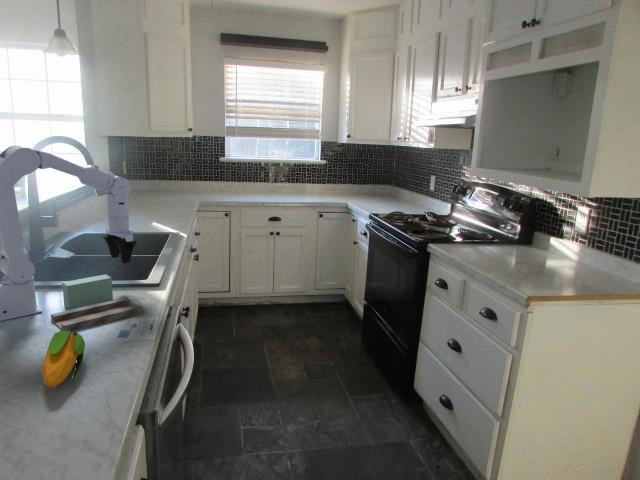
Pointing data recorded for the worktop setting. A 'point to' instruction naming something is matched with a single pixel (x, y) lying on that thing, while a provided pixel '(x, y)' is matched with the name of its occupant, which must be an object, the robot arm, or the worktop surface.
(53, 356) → the corn
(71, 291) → the green block
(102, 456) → the worktop surface
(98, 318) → the track
